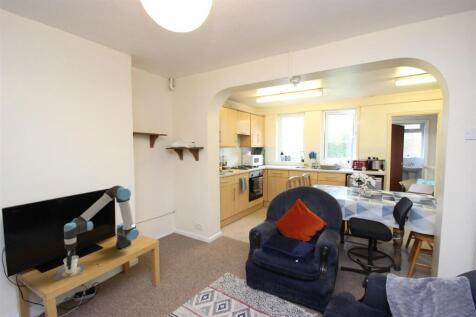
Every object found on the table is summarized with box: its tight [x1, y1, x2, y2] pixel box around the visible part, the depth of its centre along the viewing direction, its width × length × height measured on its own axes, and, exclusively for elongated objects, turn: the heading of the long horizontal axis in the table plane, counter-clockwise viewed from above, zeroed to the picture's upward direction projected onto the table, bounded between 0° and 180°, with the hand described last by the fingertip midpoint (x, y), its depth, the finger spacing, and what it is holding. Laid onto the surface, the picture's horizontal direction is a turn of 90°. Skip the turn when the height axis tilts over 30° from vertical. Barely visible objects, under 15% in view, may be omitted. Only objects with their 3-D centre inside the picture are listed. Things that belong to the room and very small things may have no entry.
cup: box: [63, 255, 79, 274], centre depth 179 cm, size 10×10×11 cm
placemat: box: [53, 264, 86, 281], centre depth 181 cm, size 18×16×1 cm
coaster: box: [61, 267, 81, 278], centre depth 180 cm, size 13×13×1 cm
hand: (71, 269), depth 180 cm, fingers open, 10 cm apart
